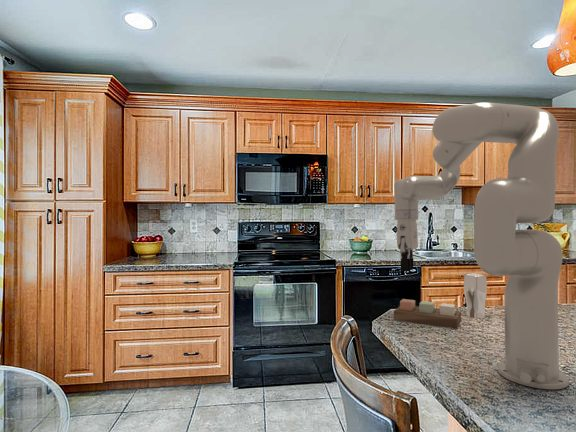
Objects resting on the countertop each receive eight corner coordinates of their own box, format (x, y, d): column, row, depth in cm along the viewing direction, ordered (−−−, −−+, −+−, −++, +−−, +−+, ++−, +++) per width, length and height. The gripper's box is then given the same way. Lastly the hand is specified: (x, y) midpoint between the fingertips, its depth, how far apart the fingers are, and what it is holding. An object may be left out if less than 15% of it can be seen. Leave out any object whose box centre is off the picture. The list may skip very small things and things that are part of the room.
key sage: (432, 314, 113) (432, 304, 113) (419, 313, 115) (419, 303, 115) (434, 312, 117) (434, 302, 117) (422, 310, 119) (421, 301, 119)
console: (457, 332, 107) (457, 318, 107) (393, 322, 117) (393, 310, 117) (461, 323, 115) (461, 311, 115) (401, 315, 125) (401, 304, 125)
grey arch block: (488, 317, 122) (487, 274, 122) (486, 322, 116) (486, 277, 116) (465, 315, 126) (464, 272, 126) (463, 319, 120) (462, 275, 120)
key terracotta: (412, 312, 117) (412, 302, 117) (400, 310, 119) (400, 301, 119) (415, 309, 120) (415, 300, 120) (403, 308, 122) (403, 299, 122)
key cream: (453, 317, 110) (453, 307, 110) (439, 315, 112) (439, 305, 112) (455, 314, 113) (455, 304, 113) (441, 313, 116) (441, 303, 116)
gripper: (412, 215, 111) (412, 274, 111) (423, 215, 125) (423, 268, 124) (388, 215, 115) (389, 272, 115) (401, 216, 129) (402, 266, 128)
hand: (407, 269), depth 120 cm, fingers open, 2 cm apart
